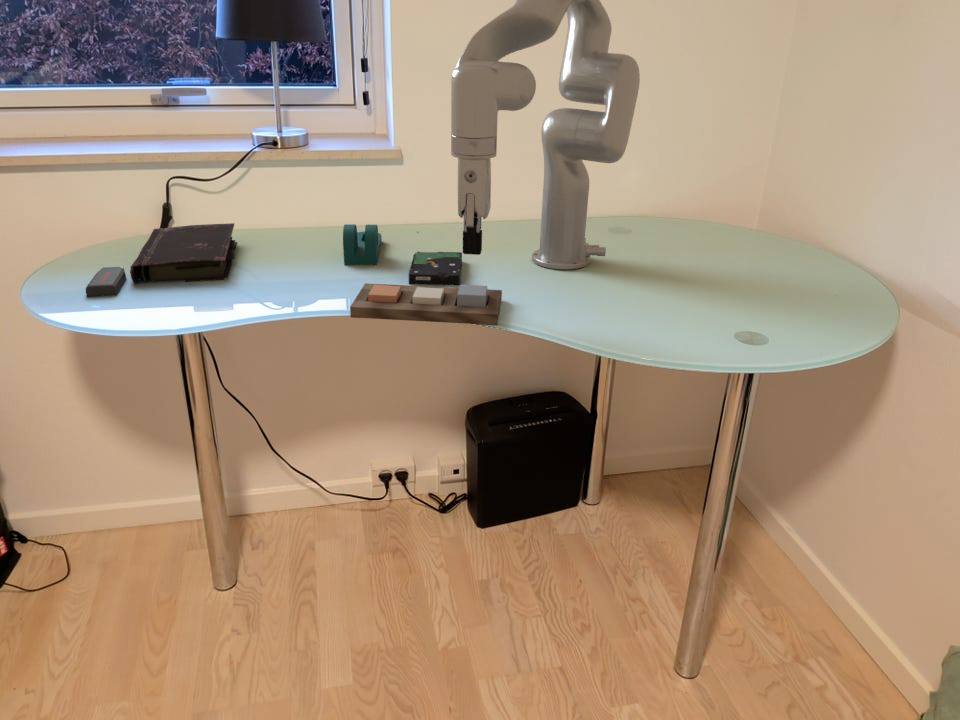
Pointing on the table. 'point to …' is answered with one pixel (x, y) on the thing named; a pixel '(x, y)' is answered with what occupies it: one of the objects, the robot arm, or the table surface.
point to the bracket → (361, 245)
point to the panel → (427, 307)
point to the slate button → (472, 296)
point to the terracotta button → (385, 294)
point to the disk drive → (436, 268)
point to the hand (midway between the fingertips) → (472, 252)
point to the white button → (428, 296)
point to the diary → (186, 254)
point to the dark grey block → (106, 282)
